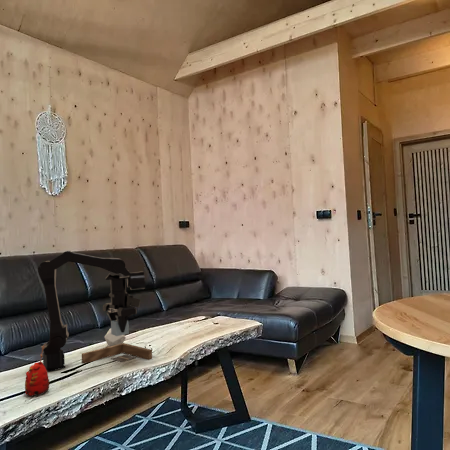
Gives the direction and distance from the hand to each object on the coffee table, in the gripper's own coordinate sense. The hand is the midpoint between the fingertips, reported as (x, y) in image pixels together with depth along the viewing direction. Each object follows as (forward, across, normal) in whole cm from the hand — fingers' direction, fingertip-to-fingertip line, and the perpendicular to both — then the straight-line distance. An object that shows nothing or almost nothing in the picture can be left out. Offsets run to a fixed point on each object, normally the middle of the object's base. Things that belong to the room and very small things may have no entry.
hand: (119, 331), depth 161 cm
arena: (+11, +1, +1) cm, 11 cm away
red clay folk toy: (+11, -14, +34) cm, 38 cm away
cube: (+1, 0, 0) cm, 1 cm away
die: (+12, +22, -7) cm, 26 cm away
